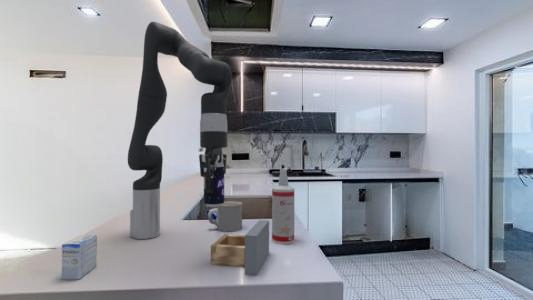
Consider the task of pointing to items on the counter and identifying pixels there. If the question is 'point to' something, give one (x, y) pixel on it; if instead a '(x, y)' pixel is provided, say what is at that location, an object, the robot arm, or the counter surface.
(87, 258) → the medicine box
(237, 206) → the coffee mug
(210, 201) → the beverage can
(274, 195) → the spray bottle
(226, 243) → the wooden box
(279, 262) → the counter surface
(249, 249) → the wall
